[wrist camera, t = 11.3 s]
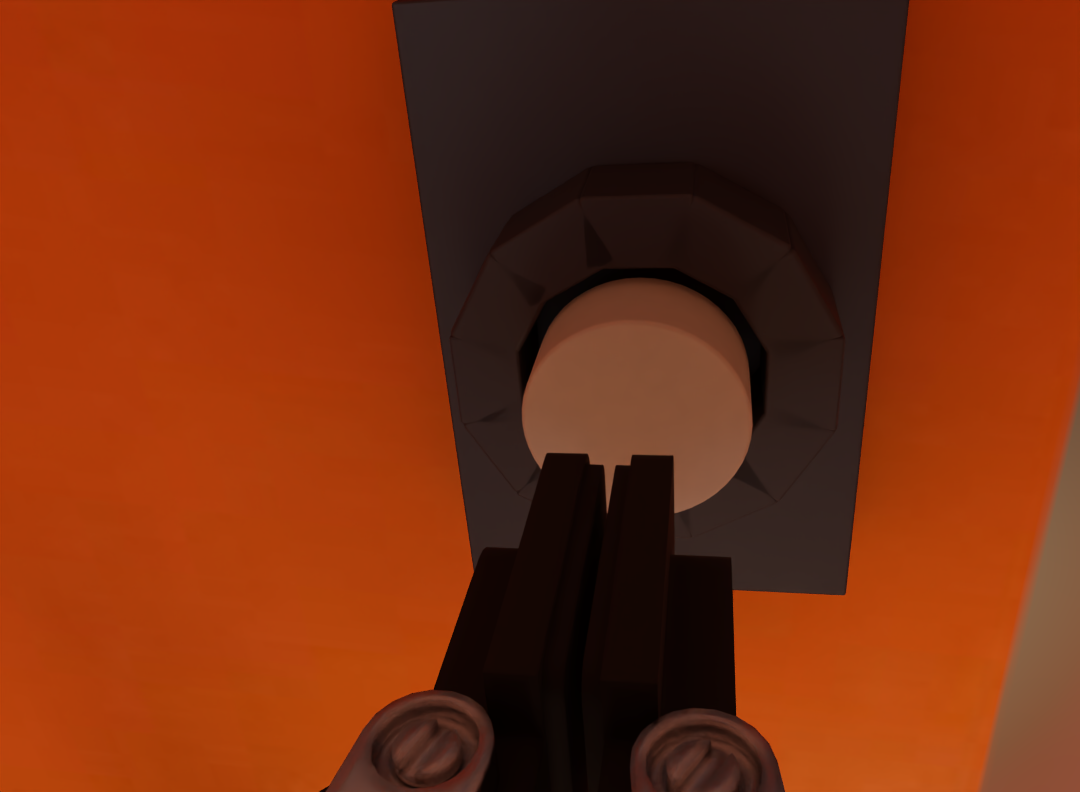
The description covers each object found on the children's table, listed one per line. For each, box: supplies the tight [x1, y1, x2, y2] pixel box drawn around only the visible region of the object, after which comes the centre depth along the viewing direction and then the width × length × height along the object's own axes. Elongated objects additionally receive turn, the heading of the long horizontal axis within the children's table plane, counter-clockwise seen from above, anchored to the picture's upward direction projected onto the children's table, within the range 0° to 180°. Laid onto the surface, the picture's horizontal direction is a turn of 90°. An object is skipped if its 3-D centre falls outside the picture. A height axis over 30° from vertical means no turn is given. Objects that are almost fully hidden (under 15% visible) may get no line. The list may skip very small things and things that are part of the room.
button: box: [522, 278, 753, 513], centre depth 15 cm, size 4×4×2 cm
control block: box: [392, 0, 909, 595], centre depth 17 cm, size 12×8×4 cm, turn 5°
